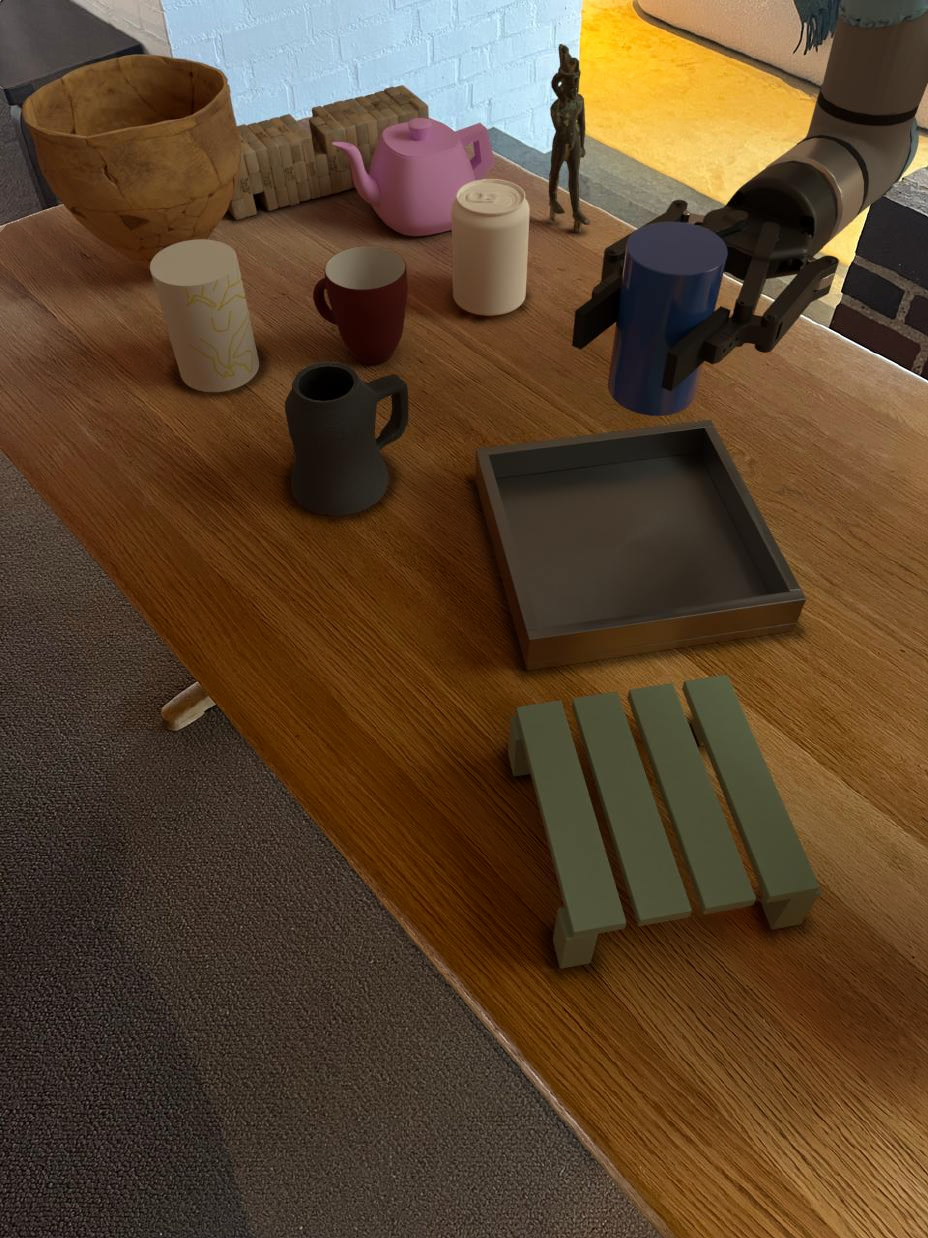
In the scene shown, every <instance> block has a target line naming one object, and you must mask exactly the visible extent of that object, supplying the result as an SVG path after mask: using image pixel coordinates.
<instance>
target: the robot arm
mask: <svg viewBox="0 0 928 1238" xmlns="http://www.w3.org/2000/svg"><path fill="white" fill-rule="evenodd" d="M838 10H839V12H838V17H837V22H836V25H835V29H834V33H833V34H834V35H833V38H832V42H831V46H830V52H829V56H828V58H827V59H828V60H827V63H826V68H825V72H824V77H823V79H822V84H821V86H820V87H819V92H818V95H817V97H816V100H815V105H814V108H813V113H812V116H811V119H810V124H809V128H808V131H807V133H806V136H805V137H804V138H803V139H802V140H800V141H799V142H797V143H796V144H795V145H794V146H793V147H791V148H790V149H788V150H787V151H786V152H784V153H783V154H781V155H780V156H778V158H776V159H775V160H773V161H772V162H770V163H769V164H768V165H767V166H766V167H764V169H762V170H761V171H760V172H758V173H757V174H756V175H755V176H752V178H750V179H749V180H748V181H746V182H745V183H743V185H741V186H740V187H739V188H738V189H737V190H736V192H735V193H734V194H732V196H731V197H730V199H729V200H728V201H727V203H726V204H725V205H724V206H723V207H721V208H716V209H713V210H710V211H707V213H706V214H705V215H702V214H699V213H694V212H690V211H689V210H688V205H689V204H688V201H686V200H683V199H674V200H672V201H671V203H670V204H669V206H668V207H667V209H666V211H665V212H663V213H662V214H660V215H658V216H657V217H655V218H653V219H652V220H650V221H648V222H646V223H645V224H643V225H642V226H640V227H639V228H641V227H644V226H647V225H650V224H654V223H660V222H682V223H689V224H694V225H697V226H700V227H703V228H706V229H708V230H710V231H712V232H713V233H715V234H716V235H718V236H719V237H720V238H721V239H722V240H723V241H724V242H725V244H726V246H727V250H728V255H727V260H726V264H725V269H724V273H727V274H730V275H731V276H733V277H734V278H736V279H738V280H740V281H743V283H742V285H741V288H740V291H739V293H738V296H737V298H736V299H735V302H734V306H733V309H732V310H733V311H732V315H731V309H729V308H727V307H725V306H723V305H720V306H719V307H718V308H716V309H715V311H714V312H713V313H712V314H711V315H710V316H709V317H708V318H706V319H705V320H704V321H703V322H702V323H701V324H699V325H698V326H697V327H696V328H695V329H694V330H693V331H691V332H690V333H689V334H688V335H687V336H686V337H684V338H683V339H682V340H681V341H680V342H679V343H678V344H676V345H675V346H674V347H673V348H672V349H671V350H669V351H668V353H667V359H666V364H665V369H664V375H663V380H662V386H661V387H662V388H664V389H666V390H668V391H672V390H674V389H675V388H676V387H677V386H678V385H679V384H680V383H681V382H682V381H683V380H685V379H686V378H687V377H688V376H689V375H690V374H691V373H692V372H693V371H694V370H696V369H697V368H698V367H699V366H700V365H701V364H702V363H703V362H704V363H705V362H706V363H708V364H711V365H715V364H719V363H720V362H721V361H722V360H724V358H726V357H727V356H728V355H729V354H730V353H731V352H732V351H733V350H734V349H736V348H740V347H742V346H744V344H751V345H754V346H753V347H754V349H755V351H756V352H759V353H763V354H768V353H771V352H772V351H773V350H774V349H775V347H776V346H777V345H778V344H779V342H780V341H781V340H782V339H783V337H785V335H786V334H787V333H788V331H790V329H791V328H792V327H793V325H795V323H796V322H797V321H798V319H799V318H800V317H801V316H802V315H803V313H804V312H805V310H806V309H807V308H808V307H809V306H810V304H811V303H813V302H815V301H817V300H819V299H821V298H823V297H825V296H827V295H829V294H830V291H831V287H832V285H833V282H834V279H835V276H836V273H837V269H838V266H839V264H840V259H839V258H837V256H834V255H829V254H828V255H823V256H821V257H819V258H816V257H815V256H816V255H817V254H818V253H820V252H821V250H823V249H824V247H825V246H826V245H827V244H828V243H830V242H831V241H832V240H834V239H835V237H837V236H838V235H839V234H840V233H841V232H842V231H843V230H844V229H846V228H847V227H848V226H849V225H850V224H851V223H852V222H853V221H854V220H855V219H856V218H858V216H859V215H861V213H863V212H864V211H865V210H866V209H868V208H869V207H870V206H871V205H872V204H874V203H875V202H876V201H878V200H881V198H882V197H884V196H885V195H887V194H888V192H890V191H891V190H892V189H893V188H894V185H895V184H897V183H898V182H899V181H900V180H901V178H902V177H903V175H904V174H905V173H906V171H907V170H908V169H909V168H910V166H911V164H912V163H913V161H914V159H915V157H916V154H917V152H918V148H919V143H920V133H919V127H918V121H917V120H918V119H917V118H916V115H917V113H918V110H919V107H920V104H921V103H922V100H923V97H924V94H925V92H926V90H927V87H928V0H841V1H840V5H839V8H838ZM639 228H637V229H636V230H638V229H639ZM636 230H634V231H631V232H630V233H629V234H627V235H625V236H623V237H622V238H620V239H619V240H617V241H615V242H614V243H612V244H610V245H609V246H607V247H606V248H604V251H603V258H602V267H601V276H600V282H599V283H598V284H596V285H595V286H593V289H592V291H591V296H590V297H591V298H590V299H589V300H587V301H586V302H585V303H583V304H582V305H581V306H579V307H578V308H577V309H576V310H575V311H574V320H573V321H574V323H573V332H572V340H571V341H572V342H571V346H572V347H574V348H576V349H579V350H583V349H584V348H586V346H588V345H589V344H591V342H593V341H594V340H595V339H597V338H598V337H599V336H600V335H602V334H603V333H604V332H605V331H607V330H608V329H609V328H610V327H611V326H613V325H614V324H616V319H617V312H618V304H619V297H620V289H621V282H622V274H623V267H624V259H625V252H626V244H627V241H628V239H629V237H630V236H631V234H632V233H633V232H635V231H636ZM789 276H790V277H791V276H794V277H793V278H792V280H791V281H790V282H789V283H788V284H787V285H786V286H785V288H784V289H783V290H782V291H781V292H780V293H779V295H778V296H777V297H776V298H775V299H774V300H773V302H772V303H771V304H770V305H769V306H768V307H767V309H765V311H764V312H763V314H762V315H759V314H758V315H757V314H755V313H756V309H757V306H758V303H759V302H760V299H761V296H762V293H763V290H764V287H765V284H766V283H767V280H770V279H771V280H772V279H777V278H783V277H789ZM730 315H731V316H730ZM704 363H703V364H704Z"/></svg>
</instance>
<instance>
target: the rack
mask: <svg viewBox="0 0 928 1238" xmlns="http://www.w3.org/2000/svg"><path fill="white" fill-rule="evenodd" d="M681 690H682V693H683V695H684V698H685V700H686V703H687V705H688V708H689V710H690V713H691V715H692V721H691V727H692V729H691V727H690V724H689V721H688V719H687V716H686V714H685V711H684V709H683V706H682V703H681V701H680V698H679V696H678V693H677V690H676V687H675V685H674V683H672V682H670V683H665V684H663V683H662V684H657V685H651V686H645V687H638V688H632V689H628V693H627V701H628V704H629V706H630V709H631V712H632V716H633V718H634V721H635V724H636V726H637V729H638V732H639V734H640V738H641V741H642V744H643V747H644V750H645V753H646V756H647V758H648V762H649V764H650V767H651V770H652V773H653V777H654V779H655V781H656V784H657V787H658V790H659V793H660V795H661V799H662V802H663V804H664V808H665V811H666V813H667V817H668V819H669V822H670V825H671V827H672V830H673V833H674V836H675V839H676V841H677V845H678V848H679V851H680V854H681V857H682V859H683V862H684V865H685V868H686V871H687V874H688V877H689V880H690V882H691V885H692V889H693V891H694V893H695V897H696V900H697V902H698V905H699V908H700V911H701V914H702V915H706V914H713V913H718V912H724V911H728V910H735V909H741V908H744V907H745V908H747V907H750V906H751V907H752V906H753V905H754V904H755V902H756V900H757V897H756V893H755V891H754V889H753V886H752V884H751V882H750V878H749V876H748V873H747V871H746V869H745V865H744V863H743V860H742V857H741V856H740V852H739V851H738V847H737V845H736V843H735V840H734V837H733V835H732V832H731V830H730V827H729V825H728V824H729V823H728V822H727V820H726V817H725V814H724V812H723V809H722V807H721V804H720V801H719V799H718V796H717V794H716V791H715V789H714V786H713V784H712V781H711V778H710V776H709V773H708V771H707V768H706V766H705V763H704V760H703V757H702V755H701V752H700V750H699V747H698V745H699V746H700V747H702V746H704V749H705V751H706V754H707V757H708V759H709V761H710V764H711V766H712V769H713V771H714V774H715V777H716V779H717V782H718V784H719V787H720V790H721V792H722V795H723V797H724V799H725V802H726V805H727V808H728V810H729V813H730V815H731V817H732V820H733V822H734V826H735V827H736V830H737V833H738V835H739V838H740V840H741V843H742V845H743V848H744V850H745V853H746V856H747V858H748V860H749V863H750V866H751V868H752V870H753V871H752V872H753V873H754V876H755V878H756V881H757V883H758V886H759V888H760V891H761V894H762V898H761V899H760V904H761V907H762V909H763V913H764V915H765V917H766V920H767V922H768V925H769V927H770V929H771V930H777V929H784V928H789V927H794V926H798V925H801V924H802V923H803V921H804V920H805V918H806V917H807V916H808V914H809V912H810V911H811V909H812V908H813V907H814V905H815V904H816V902H817V901H818V899H819V898H820V897H821V895H822V891H821V886H820V883H819V882H818V879H817V876H816V874H815V873H814V870H813V868H812V865H811V863H810V861H809V859H808V856H807V854H806V852H805V849H804V847H803V845H802V843H801V840H800V838H799V836H798V833H797V831H796V829H795V826H794V824H793V821H792V819H791V817H790V815H789V813H788V811H787V809H786V806H785V803H784V801H783V798H782V797H781V794H780V791H779V790H778V788H777V785H776V783H775V780H774V778H773V776H772V773H771V771H770V768H769V767H768V764H767V762H766V760H765V758H764V755H763V753H762V750H761V748H760V746H759V743H758V741H757V739H756V737H755V734H754V732H753V730H752V727H751V726H750V723H749V720H748V718H747V716H746V714H745V711H744V709H743V707H742V704H741V702H740V700H739V698H738V696H737V693H736V691H735V688H734V686H733V683H732V682H731V679H730V677H729V674H722V675H721V674H720V675H714V676H708V677H702V678H695V679H690V680H684V681H683V685H682V688H681ZM571 701H572V702H571V709H572V712H573V716H574V719H575V723H576V725H577V728H578V732H579V736H580V739H581V741H582V745H583V749H584V752H585V756H586V758H587V762H588V765H589V768H590V772H591V775H592V779H593V782H594V785H595V788H596V792H597V796H598V798H599V801H600V802H599V803H600V806H601V808H602V812H603V815H604V818H605V821H606V826H607V828H608V832H609V835H610V838H611V842H612V845H613V848H614V852H615V855H616V857H617V858H616V859H617V862H618V865H619V869H620V872H621V875H622V878H623V882H624V885H625V887H626V892H627V895H628V899H629V903H630V905H631V908H632V911H633V916H634V918H635V921H636V922H635V923H636V925H637V927H642V926H649V925H653V924H659V923H664V922H670V921H675V920H681V919H686V918H690V917H691V914H692V911H693V909H692V906H691V904H690V900H689V898H688V895H687V891H686V889H685V886H684V885H685V884H684V883H683V879H682V876H681V874H680V871H679V868H678V866H677V865H678V864H677V861H676V858H675V856H674V853H673V851H672V848H671V844H670V841H669V839H668V836H667V833H666V830H665V826H664V823H663V821H662V817H661V816H660V812H659V809H658V806H657V803H656V801H655V798H654V795H653V792H652V788H651V786H650V782H649V780H648V777H647V775H646V772H645V768H644V766H643V762H642V759H641V756H640V753H639V751H638V750H639V749H638V747H637V745H636V741H635V738H634V736H633V733H632V730H631V727H630V724H629V721H628V718H627V715H626V712H625V709H624V706H623V704H622V701H621V698H620V695H619V693H618V691H612V692H605V693H598V694H592V695H584V696H578V697H573V698H572V700H571ZM508 727H509V728H508V747H507V755H508V760H509V763H510V767H511V772H512V777H521V776H525V775H530V777H531V782H532V785H533V789H534V793H535V797H536V801H537V805H538V809H539V813H540V817H541V821H542V825H543V829H544V833H545V836H546V840H547V844H548V848H549V852H550V855H551V859H552V863H553V868H554V871H555V875H556V880H557V883H558V887H559V891H560V895H561V899H562V904H563V906H561V907H558V908H557V911H556V918H555V922H554V923H555V924H554V929H553V935H552V942H553V946H554V951H555V955H556V959H557V963H558V967H559V969H560V970H561V969H567V968H572V967H578V966H583V965H588V964H591V962H592V958H593V955H594V951H595V946H596V943H597V939H598V936H599V934H604V933H608V932H609V933H610V932H616V931H620V930H625V928H626V925H627V920H626V916H625V913H624V909H623V905H622V902H621V899H620V896H619V892H618V889H617V885H616V882H615V879H614V875H613V871H612V868H611V865H610V862H609V861H610V860H609V858H608V855H607V852H606V848H605V845H604V841H603V838H602V834H601V831H600V828H599V824H598V820H597V817H596V814H595V810H594V807H593V804H592V799H591V797H590V794H589V790H588V786H587V784H586V780H585V776H584V772H583V769H582V766H581V762H580V759H579V756H578V752H577V750H576V746H575V742H574V738H573V736H572V733H571V729H570V725H569V722H568V718H567V715H566V711H565V709H564V704H563V702H562V700H553V701H547V702H540V703H534V704H528V705H521V706H516V707H515V715H514V714H513V715H510V716H509V725H508ZM692 730H693V732H694V733H693V732H692ZM693 734H694V735H695V737H694V735H693ZM695 738H696V739H695ZM696 740H697V742H696ZM697 743H698V745H697Z"/></svg>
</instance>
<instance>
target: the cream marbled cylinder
mask: <svg viewBox="0 0 928 1238" xmlns="http://www.w3.org/2000/svg"><path fill="white" fill-rule="evenodd" d="M150 274H151V277H152V278H151V279H152V281H153V285H154V288H155V291H156V295H157V299H158V302H159V305H160V309H161V312H162V315H163V319H164V323H165V326H166V330H167V333H168V337H169V341H170V343H171V347H172V350H173V354H174V358H175V361H176V364H177V367H178V368H177V369H178V371H179V374H180V378H181V380H182V381H183V383H184V384H185V385H186V386H188V387H189V388H191V389H194V390H196V391H200V392H204V393H222V392H227V391H232V390H235V389H238V388H240V387H241V386H244V385H245V384H247V383H249V382H250V381H251V380H252V379H253V378H254V377H255V376H256V374H257V373H258V371H259V368H260V361H259V360H260V359H259V355H258V351H257V345H256V341H255V336H254V331H253V326H252V321H251V317H250V314H249V313H250V312H249V307H248V303H247V297H246V294H245V288H244V284H243V278H242V274H241V269H240V264H239V259H238V255H237V252H236V251H235V249H234V248H232V246H231V245H229V244H226V243H225V242H222V241H218V240H215V239H208V240H206V239H197V240H188V241H183V242H179V243H176V244H173V245H171V246H168V247H166V248H165V249H163V250H161V251H160V252H159V253H157V254H156V255H155V256H154V258H153V259H152V261H151V263H150Z"/></svg>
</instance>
